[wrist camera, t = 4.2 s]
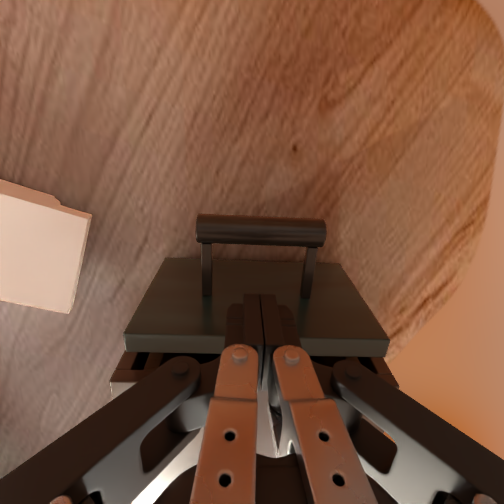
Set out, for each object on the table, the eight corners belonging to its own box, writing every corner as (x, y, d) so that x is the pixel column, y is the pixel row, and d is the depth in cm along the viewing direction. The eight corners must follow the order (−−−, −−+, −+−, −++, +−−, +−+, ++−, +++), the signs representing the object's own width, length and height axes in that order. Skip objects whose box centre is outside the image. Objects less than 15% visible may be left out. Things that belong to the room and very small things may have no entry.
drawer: (160, 191, 21) (107, 237, 13) (352, 200, 21) (418, 249, 13) (175, 395, 29) (148, 503, 20) (314, 397, 29) (341, 503, 21)
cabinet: (162, 276, 24) (108, 381, 15) (339, 282, 25) (400, 386, 15) (172, 411, 31) (140, 546, 21) (313, 412, 31) (345, 544, 22)
